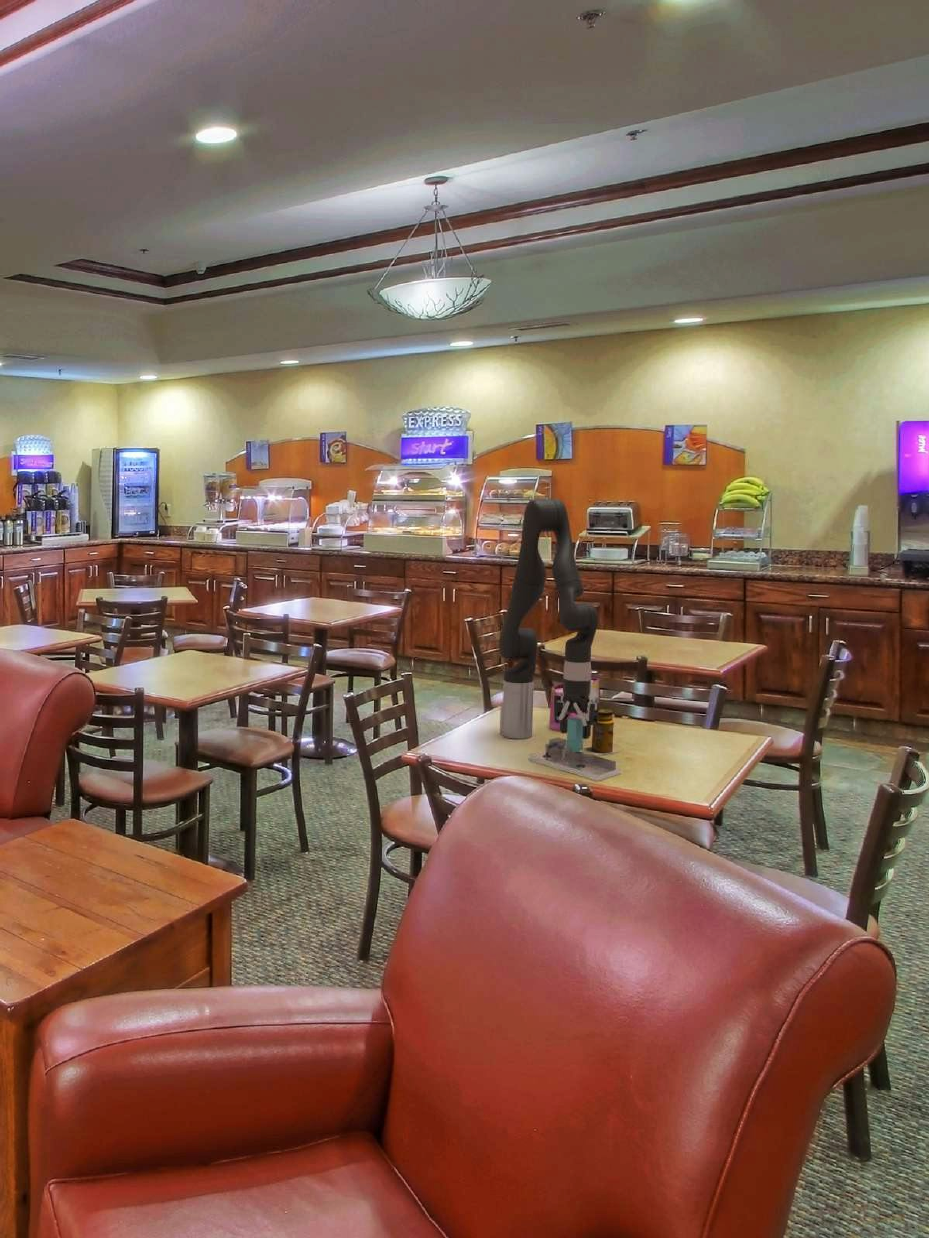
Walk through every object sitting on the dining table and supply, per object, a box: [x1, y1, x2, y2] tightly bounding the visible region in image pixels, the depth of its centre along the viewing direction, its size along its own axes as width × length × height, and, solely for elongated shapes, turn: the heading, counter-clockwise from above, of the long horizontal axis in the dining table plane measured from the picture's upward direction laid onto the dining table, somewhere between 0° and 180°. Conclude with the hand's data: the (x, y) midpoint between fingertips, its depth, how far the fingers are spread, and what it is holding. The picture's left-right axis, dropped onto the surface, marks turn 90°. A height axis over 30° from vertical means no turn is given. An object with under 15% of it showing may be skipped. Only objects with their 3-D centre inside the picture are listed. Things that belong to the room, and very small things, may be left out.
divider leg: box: [562, 717, 584, 760], centre depth 244 cm, size 3×7×11 cm, turn 134°
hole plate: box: [528, 736, 622, 782], centre depth 242 cm, size 24×10×6 cm, turn 44°
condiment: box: [582, 708, 619, 757], centre depth 258 cm, size 7×8×12 cm
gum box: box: [548, 677, 600, 732], centre depth 288 cm, size 24×8×14 cm, turn 150°
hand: (574, 735), depth 245 cm, fingers open, 7 cm apart
